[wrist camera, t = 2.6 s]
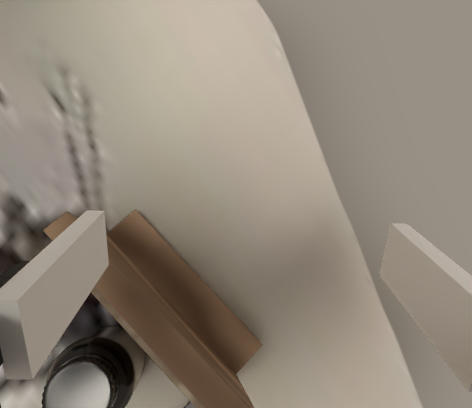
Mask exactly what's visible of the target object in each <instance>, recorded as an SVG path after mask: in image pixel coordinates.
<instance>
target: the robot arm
mask: <svg viewBox="0 0 472 408" xmlns="http://www.w3.org/2000/svg"><path fill="white" fill-rule="evenodd" d="M108 265H109V261H108V249H107V237H106V226H105V214H104V211H95V210H87V211H86V212H84V213H83V214H82V215H81V216H80V217H79V218H78V219H77V220H76V221H74V222H73V223H72V224H71V225H70V226H69V227H68V228H67V229H66V230H64V231H63V232H62V233H61V234H60V235H59V236H58V237H57V238H56V239H54V240H53V241H52V242H51V243H50V244H49V245H48V246H47V247H46V248H45V249H43V250H42V251H41V252H40V253H39V254H38V255H37V256H36V257H35V258H33V259H32V260H31V261H22V262H20V263H18V264H16V265H14V266H12V267H10V268H8V269H7V270H6V271H5V272H4V273H3V274H1V275H0V366H1V365H2V363H3V368H4V372H5V376H6V379H26V380H33V378H34V377H35V375H36V374H37V372H38V371H39V369H40V368H41V366H42V365H43V363H44V362H45V360H46V359H47V357H48V356H49V354H50V353H51V351H52V350H53V348H54V347H55V345H56V344H57V342H58V341H59V339H60V338H61V336H62V335H63V333H64V332H65V330H66V329H67V327H68V326H69V324H70V323H71V321H72V320H73V318H74V317H75V315H76V313H77V312H78V310H79V309H80V307H81V306H82V304H83V303H84V301H85V300H86V298H87V297H88V295H89V294H90V292H91V291H92V289H93V288H94V286H95V285H96V283H97V282H98V280H99V279H100V277H101V276H102V274H103V273H104V271H105V270H106V268H107V267H108ZM379 275H380V277H381V278H382V279H383V281H384V282H385V283H386V285H387V286H388V287H389V288H390V290H391V291H392V292H393V294H394V295H395V296H396V298H397V299H398V300H399V301H400V303H401V304H402V305H403V307H404V308H405V309H406V311H407V312H408V313H409V315H410V316H411V317H412V318H413V320H414V321H415V322H416V324H417V325H418V326H419V328H420V329H421V330H422V332H423V333H424V334H425V335H426V337H427V338H428V339H429V341H430V342H431V343H432V345H433V346H434V347H435V349H436V350H437V351H438V352H439V354H440V355H441V356H442V358H443V359H444V360H445V362H446V363H447V364H448V365H449V367H450V368H451V369H452V371H453V372H454V373H455V375H456V376H457V377H458V378H459V380H460V381H461V382H462V384H463V385H464V386H465V388H466V389H467V390H468V391H472V276H471V275H469V274H468V273H467V272H466V271H464V270H463V269H462V268H461V267H459V266H458V265H457V264H456V263H455V262H453V261H452V260H451V259H450V258H448V257H447V256H446V255H445V254H443V253H442V252H441V251H440V250H438V249H437V248H436V247H435V246H434V245H432V244H431V243H430V242H429V241H427V240H426V239H425V238H424V237H422V236H421V235H420V234H419V233H418V232H416V231H415V230H414V229H413V228H411V227H410V226H409V225H408V224H397V223H391V224H390V229H389V233H388V238H387V242H386V247H385V251H384V256H383V260H382V265H381V269H380V273H379ZM0 408H1V405H0Z"/></svg>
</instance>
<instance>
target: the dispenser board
mask: <svg viewBox="0 0 472 408" xmlns="http://www.w3.org/2000/svg"><path fill="white" fill-rule="evenodd" d="M77 219H78V217H76V216H74V215H72V214H71V213H69V212H65V213H64V214H63V215H62V216H60V217H59V218H58V219H57V220H55V221H54V222H53V223H52V224H50V225H49V226H48V227H47V228H45V229H44V230H43V231H44V232H45V233H46V234H47V235H48V236H49V238H50V239H51V240H52V241H53V240H54V239H56V238H57V237H58V236H59V235H60V234H61V233H62V232H63V231H64V230H66V229H67V228H68V227H69V226H70V225H71V224H72V223H73V222H74V221H76V220H77ZM106 237H107V249H108V261H109V265H108V267H107V268H106V270H105V271H104V273H103V274H102V276H101V277H100V279H99V280H98V282H97V283H96V285H95V286H94V288H93V289H92V291H91V293H92V294H93V295H94V296H95V297H96V298H97V300H98V301H99V302H100V303H101V304H102V305H103V306H104V307H105V308H106V309H107V311H108V312H109V313H110V314H111V315H112V316H113V317H114V318H115V319H116V320H117V321H118V323H119V324H120V325H121V326H122V327H123V328H124V329H125V330H126V331H127V332H128V334H129V335H130V336H131V337H132V338H133V339H134V340H135V341H136V342H137V343H138V345H139V346H140V347H141V348H142V349H143V350H144V351H145V352H146V353H147V354H148V356H149V357H150V358H151V359H152V360H153V361H154V362H155V363H156V364H157V365H158V367H159V368H160V369H161V370H162V371H163V372H164V373H165V374H166V375H167V376H168V377H169V379H170V380H171V381H172V382H173V383H174V384H175V385H176V386H177V387H178V388H179V390H180V391H181V392H182V393H183V394H184V395H185V396H186V397H187V398H188V399H189V401H190V402H191V403H192V404H193V405H194V406H195V407H196V408H254V407H253V405H252V403H251V401H250V399H249V397H248V395H247V394H246V392H245V390H244V388H243V386H242V384H241V382H240V381H239V379H238V377H237V375H236V373H237V372H238V371H239V370H240V369H241V368H242V367H243V366H244V365H245V363H246V362H247V361H248V360H249V359H250V358H251V357H252V356H253V355H254V353H255V352H256V351H257V350H258V349H259V348H260V347H261V346H262V343H261V342H260V341H259V340H258V339H257V338H256V337H255V336H254V335H253V334H252V333H251V332H250V331H249V330H248V329H247V327H246V326H245V325H244V324H243V323H242V322H241V321H240V320H239V319H238V318H237V317H236V316H235V315H234V314H233V313H232V311H231V310H230V309H229V308H228V307H227V306H226V305H225V304H224V303H223V302H222V301H221V300H220V299H219V298H218V297H217V295H216V294H215V293H214V292H213V291H212V290H211V289H210V288H209V287H208V286H207V285H206V284H205V283H204V282H203V281H202V280H201V278H200V277H199V276H198V275H197V274H196V273H195V272H194V271H193V270H192V269H191V268H190V267H189V266H188V265H187V264H186V262H185V261H184V260H183V259H182V258H181V257H180V256H179V255H178V254H177V253H176V252H175V251H174V250H173V249H172V248H171V246H170V245H169V244H168V243H167V242H166V241H165V240H164V239H163V238H162V237H161V236H160V235H159V234H158V233H157V232H156V230H155V229H154V228H153V227H152V226H151V225H150V224H149V223H148V222H147V221H146V220H145V219H144V218H143V217H142V216H141V215H140V213H139V212H138V211H137V210H136V209H135V210H134V211H133V212H132V213H131V214H129V215H128V216H127V217H126V218H125V219H124V220H122V221H121V222H120V223H119V224H118V225H116V226H115V227H114V228H113V229H112V230H111V231H109V232H108V233H107V234H106Z"/></svg>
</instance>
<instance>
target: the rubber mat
mask: <svg viewBox="0 0 472 408" xmlns="http://www.w3.org/2000/svg"><path fill="white" fill-rule="evenodd" d="M184 408H196V407H195V406H194V405H193V404H192V403H191V402H189V403H188V404H187V405H186V406H185V407H184Z"/></svg>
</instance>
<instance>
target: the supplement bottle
mask: <svg viewBox="0 0 472 408" xmlns="http://www.w3.org/2000/svg"><path fill="white" fill-rule="evenodd" d="M144 361H145V355H144V350H143V349H142V348H141V347H140V346H139V345H138V343H137V342H136V341H135V340H134V339H133V338H132V337H131V336H130V335H129V334H128V332H127V331H126V330H125V329H124V328H123V327H118V326H109V327H105V328H101V329H99V330H97V331H95V332H93V333H91V334H89V335H87V336H85V337H83V338H82V339H80V340H78V341H76V342H74V343H73V344H71V345H70V346H68V347H67V348H66V349H65V350H64V351H63V352H62V353H61V354H60V355H59V356H58V357H57V358H56V360H55V361H54V363H53V365H52V366H51V369H50V371H49V374H48V377H47V382H46V386H45V387H44V392H43V394H42V396H43V399H42V405H43V407H42V408H125V406H126V405H127V404H128V402H129V400H130V398H131V396H132V394H133V392H134V390H135V387H136V385H137V383H138V381H139V378H140V376H141V373H142V371H143V367H144Z"/></svg>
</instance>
